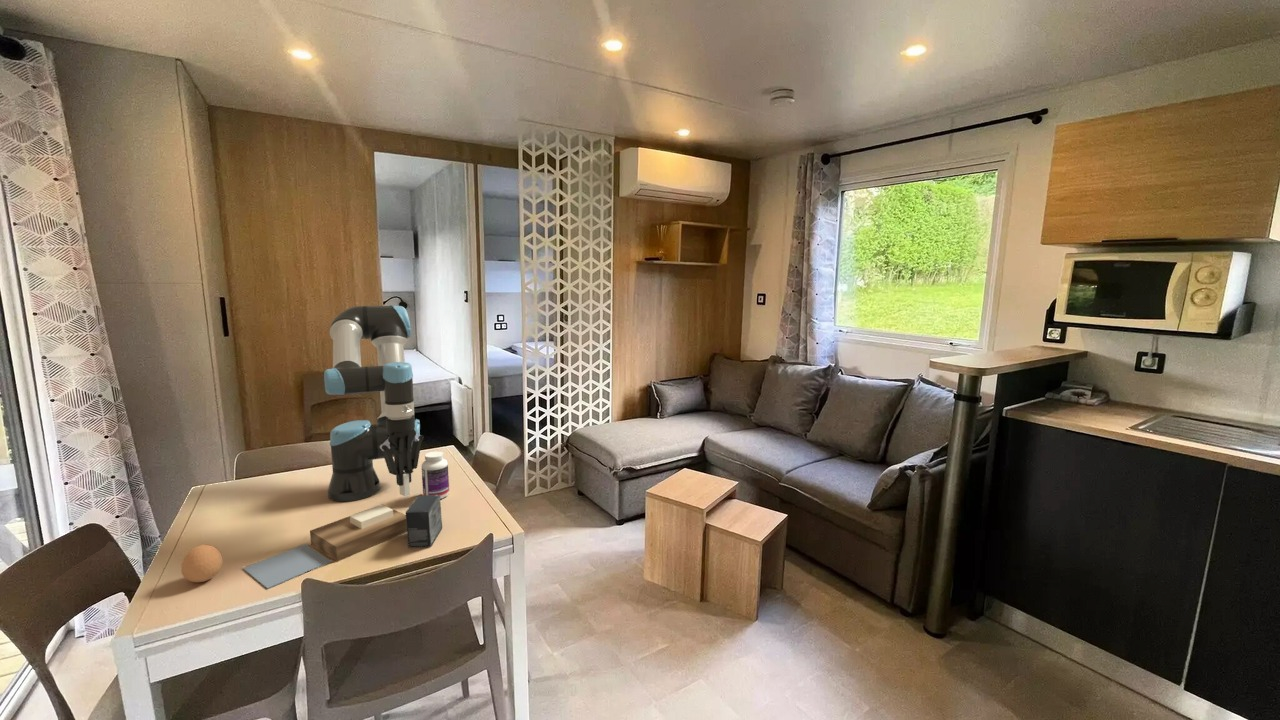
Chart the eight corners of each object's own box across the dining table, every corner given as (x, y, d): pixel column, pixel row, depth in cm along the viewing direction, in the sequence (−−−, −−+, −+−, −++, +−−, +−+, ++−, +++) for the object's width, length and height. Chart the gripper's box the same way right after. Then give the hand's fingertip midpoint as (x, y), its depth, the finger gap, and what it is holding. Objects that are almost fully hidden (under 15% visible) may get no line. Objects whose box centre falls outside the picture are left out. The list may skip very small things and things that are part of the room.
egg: (212, 587, 119) (208, 553, 117) (175, 590, 117) (170, 556, 116) (230, 569, 126) (226, 537, 124) (195, 572, 124) (191, 539, 123)
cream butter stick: (350, 522, 142) (349, 515, 142) (381, 510, 149) (381, 504, 149) (361, 528, 139) (361, 522, 138) (393, 516, 146) (393, 509, 146)
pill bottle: (454, 493, 171) (453, 451, 169) (437, 503, 164) (435, 460, 161) (434, 489, 174) (432, 448, 172) (417, 499, 166) (415, 456, 164)
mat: (242, 568, 126) (242, 567, 126) (305, 544, 137) (305, 543, 137) (267, 589, 118) (267, 588, 118) (331, 562, 130) (331, 560, 130)
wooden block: (311, 544, 138) (309, 530, 137) (383, 516, 154) (382, 504, 153) (337, 561, 130) (336, 546, 129) (410, 530, 146) (409, 517, 146)
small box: (419, 528, 148) (417, 494, 146) (443, 528, 148) (441, 494, 146) (406, 548, 137) (404, 511, 135) (431, 547, 138) (429, 511, 136)
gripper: (385, 423, 140) (390, 505, 144) (428, 413, 151) (432, 490, 154) (370, 419, 144) (376, 498, 148) (413, 410, 155) (417, 484, 159)
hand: (404, 494), depth 151 cm, fingers closed
